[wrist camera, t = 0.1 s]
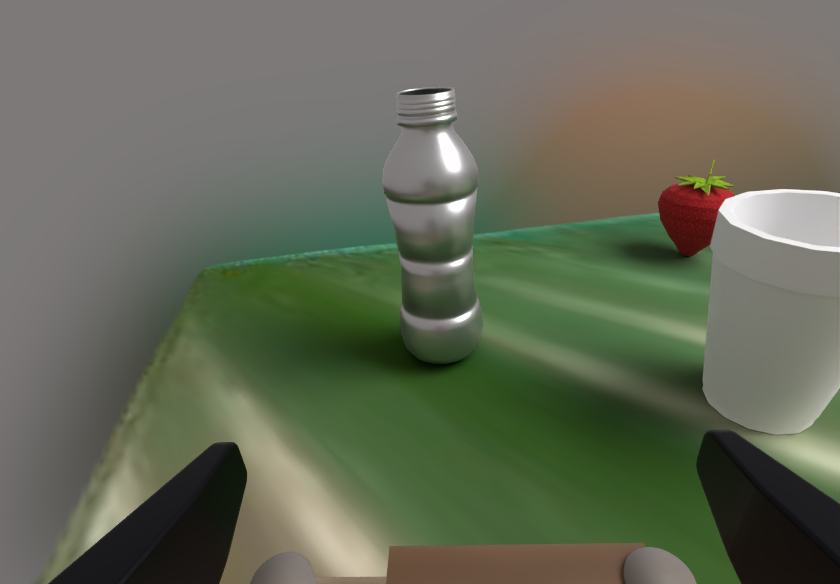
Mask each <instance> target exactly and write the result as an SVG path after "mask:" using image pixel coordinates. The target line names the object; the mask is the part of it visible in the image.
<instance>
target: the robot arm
mask: <svg viewBox="0 0 840 584" xmlns="http://www.w3.org/2000/svg"><path fill="white" fill-rule="evenodd" d="M696 466H697V472H698V475H699V478H700V481H701V484H702V486H703V489H704V492H705V495H706V497H707V500H708V503H709V506H710V508H711V511H712V514H713V517H714V519H715V522H716V525H717V528H718V530H719V533H720V536H721V539H722V541H723V544H724V546H725V549H726V551H727V554H728V556H729V559H730V561H731V563H732V565H733V567H734V569H735V572H736V574H737V576H738V578H739V580H740V582H741V584H840V504H839V503H838V502H836V501H835V500H834V499H832V498H831V497H829V496H828V495H826V494H825V493H823V492H822V491H820V490H819V489H817V488H816V487H814V486H813V485H811V484H810V483H809V482H807V481H806V480H804V479H803V478H801V477H800V476H798V475H797V474H795V473H794V472H792V471H791V470H789V469H788V468H787V467H785V466H784V465H782V464H781V463H779V462H778V461H776V460H775V459H773V458H772V457H770V456H769V455H767V454H766V453H764V452H763V451H762V450H760V449H759V448H757V447H756V446H754V445H753V444H751V443H750V442H748V441H747V440H745V439H744V438H742V437H741V436H739V435H738V434H737V433H735V432H733V431H731V430H710V431H707V432H706V433H705V435H704V437H703V440H702V444H701V447H700V451H699V454H698V458H697V464H696ZM246 482H247V470H246V467H245V464H244V462H243V459H242V456H241V453H240V451H239V448H238V446H237V445H236V444H235V443H233V442H219V443H214V444H213V445H211V446H210V447H209V448H207V449H206V450H205V451H204V452H203V453H202V454H200V455H199V456H198V457H197V458H196V459H194V460H193V461H192V462H191V463H190V464H189V465H187V466H186V467H185V468H184V469H183V470H182V471H180V472H179V473H178V474H177V475H176V476H174V477H173V478H172V479H171V480H170V481H169V482H167V483H166V484H165V485H164V486H163V487H161V488H160V489H159V490H158V491H157V492H156V493H154V494H153V495H152V496H151V497H150V498H149V499H147V500H146V501H145V502H144V503H143V504H141V505H140V506H139V507H138V508H137V509H136V510H134V511H133V512H132V513H131V514H130V515H129V516H127V517H126V518H125V519H124V520H123V521H121V522H120V523H119V524H118V525H117V526H116V527H114V528H113V529H112V530H111V531H110V532H108V533H107V534H106V535H105V536H104V537H103V538H101V539H100V540H99V541H98V542H97V543H96V544H94V545H93V546H92V547H91V548H90V549H88V550H87V551H86V552H85V553H84V554H83V555H81V556H80V557H79V558H78V559H77V560H76V561H74V562H73V563H72V564H71V565H70V566H68V567H67V568H66V569H65V570H64V571H63V572H61V573H60V574H59V575H58V576H57V577H55V578H54V579H53V580H52V581H51V582H50V583H48V584H219V582H220V580H221V577H222V574H223V571H224V568H225V565H226V562H227V559H228V555H229V552H230V548H231V544H232V540H233V536H234V532H235V528H236V523H237V519H238V515H239V511H240V507H241V503H242V499H243V495H244V491H245V486H246Z"/></svg>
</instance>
